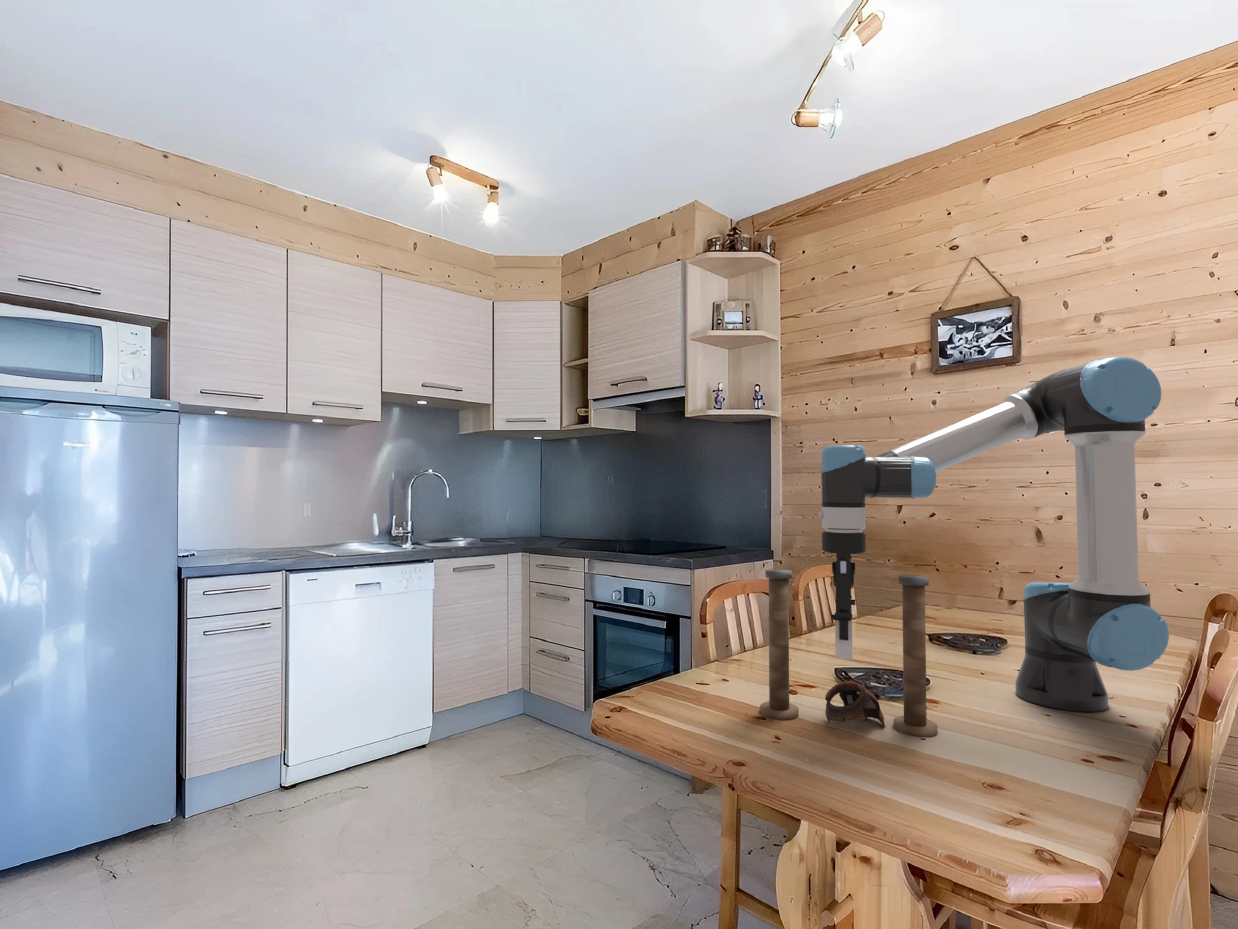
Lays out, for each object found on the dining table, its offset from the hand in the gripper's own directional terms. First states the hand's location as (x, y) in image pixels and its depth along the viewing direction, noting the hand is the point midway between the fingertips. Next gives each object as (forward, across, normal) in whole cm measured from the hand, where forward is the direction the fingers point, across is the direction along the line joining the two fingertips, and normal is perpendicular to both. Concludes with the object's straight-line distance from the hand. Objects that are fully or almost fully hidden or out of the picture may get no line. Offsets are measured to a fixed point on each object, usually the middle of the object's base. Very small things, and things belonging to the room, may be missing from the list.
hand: (844, 649), depth 116 cm
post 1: (+13, 0, -12) cm, 17 cm away
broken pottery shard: (+13, 0, +2) cm, 13 cm away
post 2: (+13, 0, +12) cm, 17 cm away
